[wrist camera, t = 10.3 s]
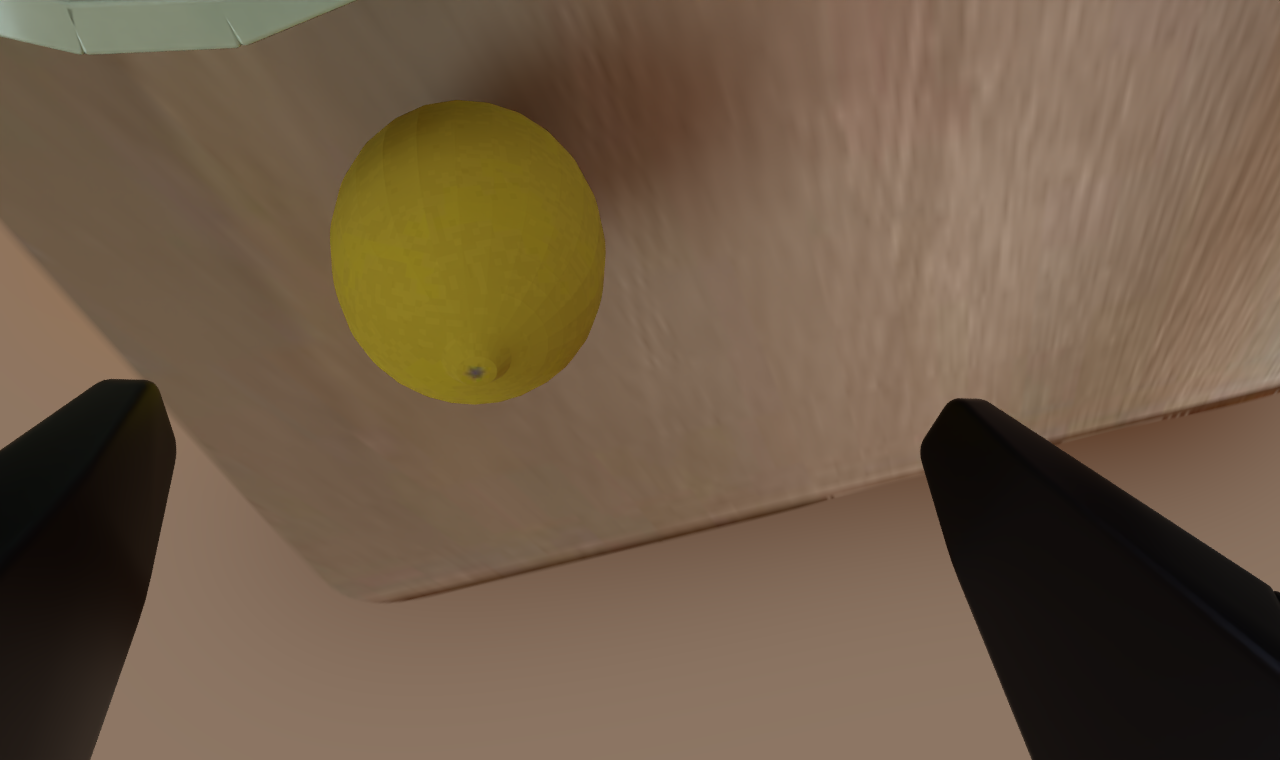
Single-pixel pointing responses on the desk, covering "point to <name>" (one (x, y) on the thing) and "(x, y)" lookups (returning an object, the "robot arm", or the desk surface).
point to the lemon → (467, 252)
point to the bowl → (153, 23)
